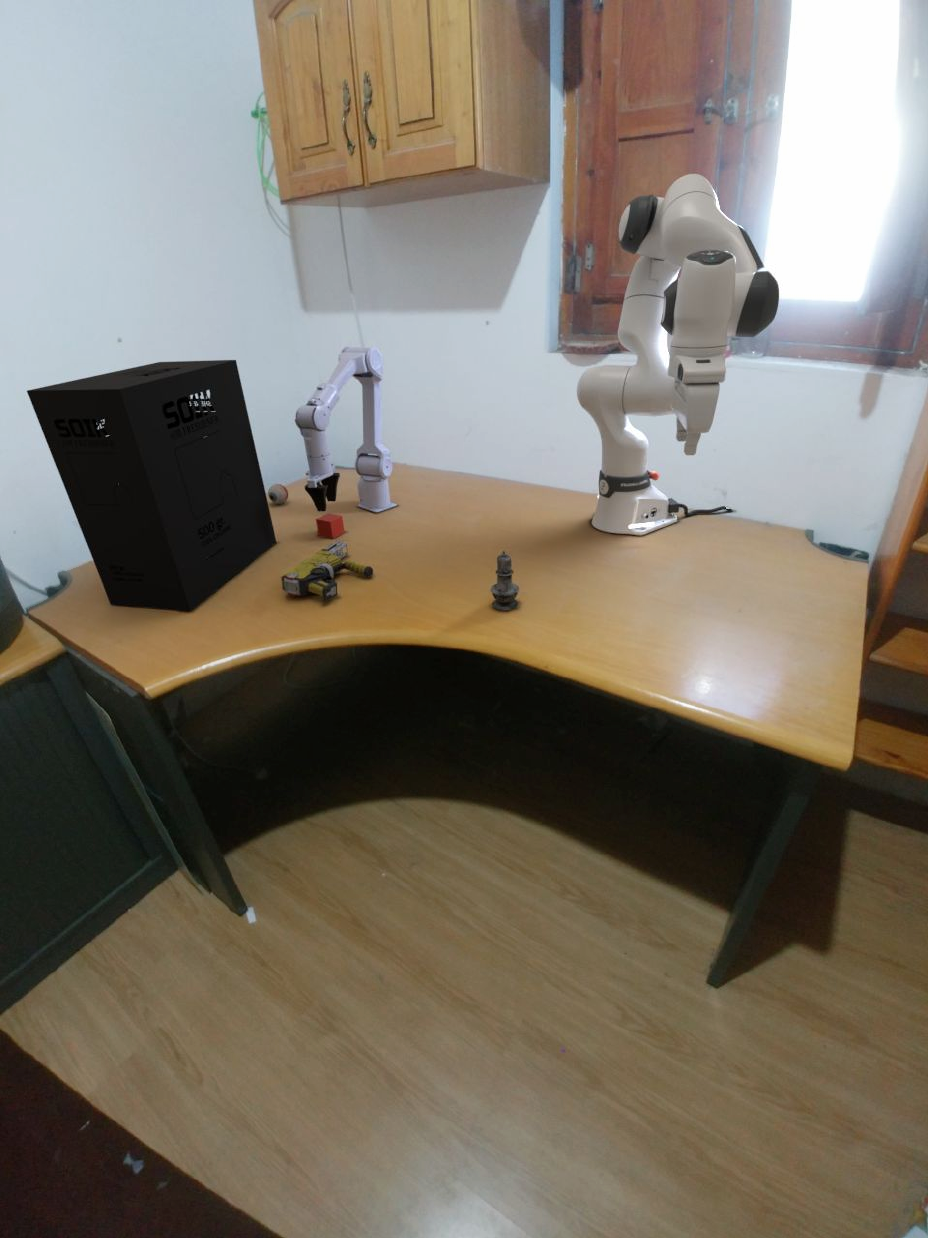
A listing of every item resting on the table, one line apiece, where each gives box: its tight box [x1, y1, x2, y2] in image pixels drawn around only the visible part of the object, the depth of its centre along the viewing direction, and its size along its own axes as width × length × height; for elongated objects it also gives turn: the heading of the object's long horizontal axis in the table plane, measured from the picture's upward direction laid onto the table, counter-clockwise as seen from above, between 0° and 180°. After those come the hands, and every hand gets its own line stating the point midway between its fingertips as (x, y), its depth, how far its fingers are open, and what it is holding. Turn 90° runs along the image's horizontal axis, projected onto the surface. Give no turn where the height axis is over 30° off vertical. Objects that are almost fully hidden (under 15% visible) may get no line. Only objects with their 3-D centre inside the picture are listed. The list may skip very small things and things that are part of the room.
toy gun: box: [281, 539, 374, 603], centre depth 138 cm, size 5×24×15 cm
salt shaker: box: [490, 550, 520, 611], centre depth 121 cm, size 6×6×12 cm
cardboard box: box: [26, 359, 277, 612], centre depth 135 cm, size 38×20×45 cm, turn 167°
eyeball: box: [267, 483, 289, 505], centre depth 187 cm, size 6×6×6 cm
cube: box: [315, 512, 346, 540], centre depth 163 cm, size 5×5×5 cm
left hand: (327, 505), depth 160 cm, fingers open, 7 cm apart
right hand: (685, 447), depth 108 cm, fingers open, 8 cm apart
